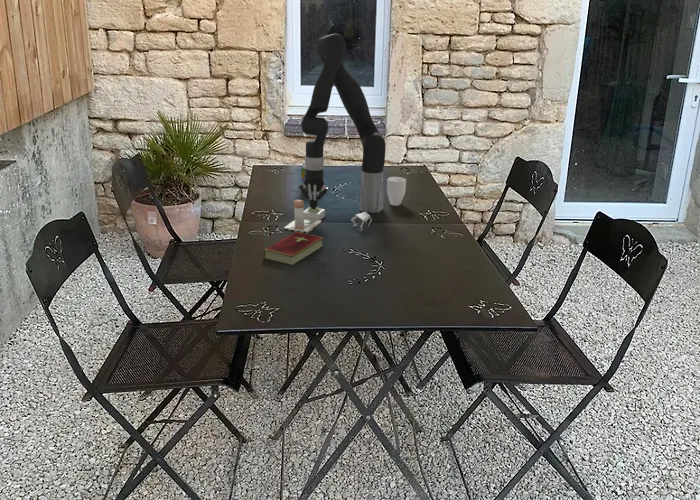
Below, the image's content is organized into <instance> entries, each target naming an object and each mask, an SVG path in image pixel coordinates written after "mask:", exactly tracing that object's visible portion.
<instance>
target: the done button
mask: <svg viewBox="0 0 700 500" xmlns="http://www.w3.org/2000/svg"><path fill="white" fill-rule="evenodd" d="M308 208H309V211H308V212H312V213H318V212H319V209H320V208H319V207H318V206H317V207H316V209H311V207H310V206H308Z"/></svg>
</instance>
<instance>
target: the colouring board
mask: <svg viewBox="0 0 700 500" xmlns="http://www.w3.org/2000/svg"><path fill="white" fill-rule="evenodd" d="M321 223H322V219H321V220H316V219H309V218H304V227H301V228H297V227H295V219H294V220H292V221H291V222H289V223H288V224H286V226H284V228H283V229H284V230H285V229H288V230H287V231H291V230H294V231H293V232H297V231H300V232H301V233H303V232H306V233H305V234H309V233H310V232H311V231H313V230H314V229H315V228H316V227H317V226H318V225H320V224H321ZM314 227H315V228H314ZM313 228H314V229H313ZM309 231H310V232H309ZM308 232H309V233H308Z"/></svg>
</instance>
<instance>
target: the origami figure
mask: <svg viewBox="0 0 700 500" xmlns="http://www.w3.org/2000/svg"><path fill="white" fill-rule="evenodd" d="M357 218H358V219H359V220H361V221H362V223H361V224H360V230H359V232H362V231H363V230H364V229H363V226H364V222H365V224H367V221H368V220H369V219H370V221H369V223H368V227H370V224H371V222H372V221H373V219H372V217H371V215H370V214H369V213H368V212H363V211H362V212H361V213H360V212H359V213H357V214H354V216H353V217H352V218H351V219H350V221H351V222H352V223H353V227H356V226H357V225H358V224H357V223H356V222H355V220H356V219H357Z"/></svg>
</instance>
